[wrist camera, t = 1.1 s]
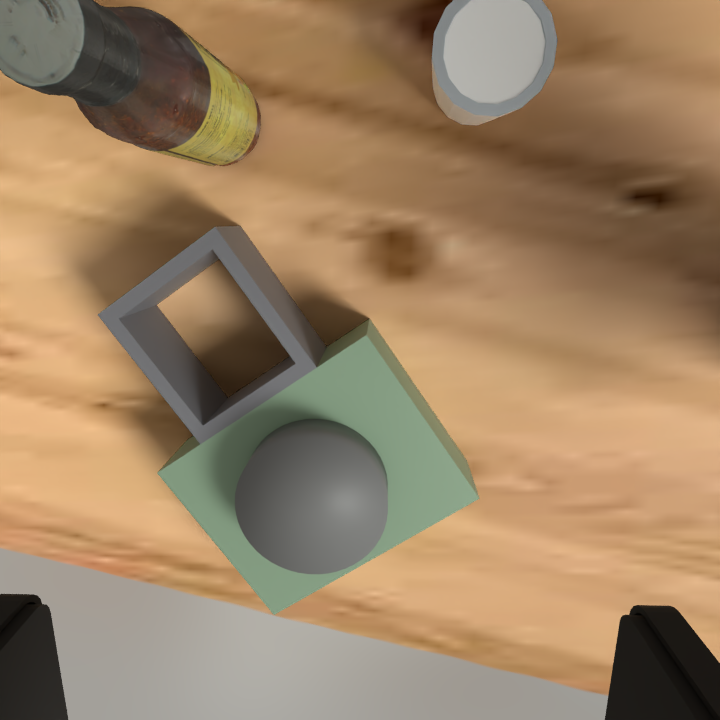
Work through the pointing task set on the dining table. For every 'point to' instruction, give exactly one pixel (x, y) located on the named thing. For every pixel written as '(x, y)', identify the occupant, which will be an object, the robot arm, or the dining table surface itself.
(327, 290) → the dining table surface
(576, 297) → the dining table surface
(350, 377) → the grey and green blocks
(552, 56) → the shot glass
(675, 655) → the robot arm
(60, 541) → the dining table surface
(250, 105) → the sauce bottle
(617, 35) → the dining table surface
